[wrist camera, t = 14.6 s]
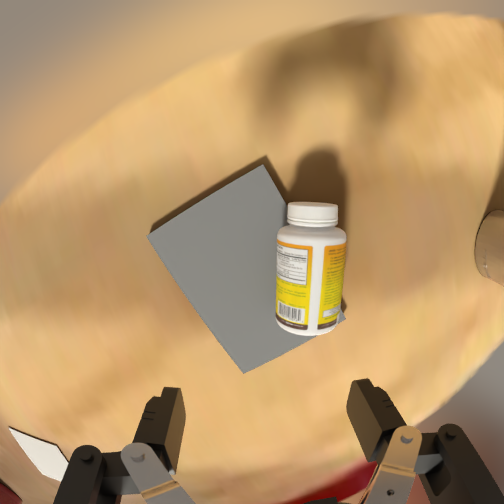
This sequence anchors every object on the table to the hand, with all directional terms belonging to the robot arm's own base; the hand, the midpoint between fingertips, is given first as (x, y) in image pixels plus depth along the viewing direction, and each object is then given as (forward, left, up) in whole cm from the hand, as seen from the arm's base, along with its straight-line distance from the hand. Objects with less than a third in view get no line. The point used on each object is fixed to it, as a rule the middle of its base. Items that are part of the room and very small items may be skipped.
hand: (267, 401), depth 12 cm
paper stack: (+58, +8, -16) cm, 61 cm away
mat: (0, -1, -16) cm, 16 cm away
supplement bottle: (-3, +4, -12) cm, 13 cm away
